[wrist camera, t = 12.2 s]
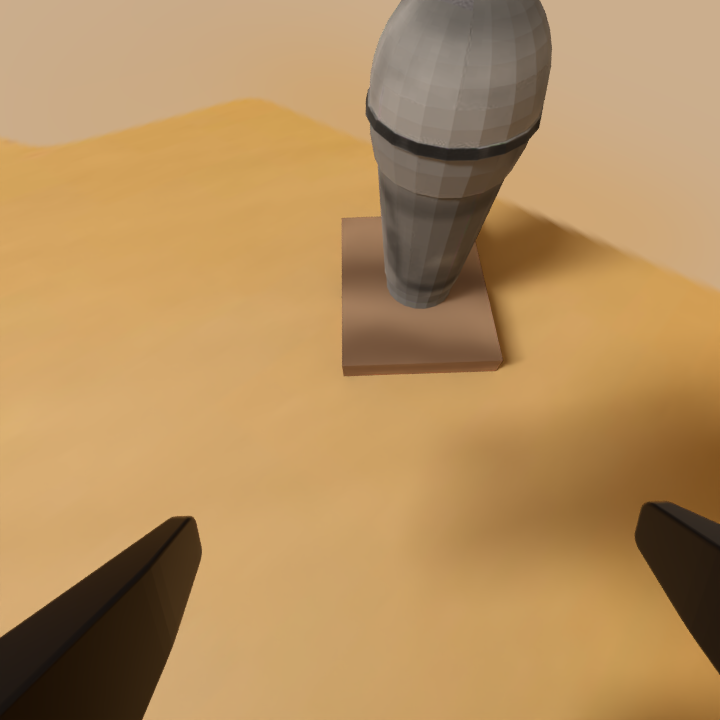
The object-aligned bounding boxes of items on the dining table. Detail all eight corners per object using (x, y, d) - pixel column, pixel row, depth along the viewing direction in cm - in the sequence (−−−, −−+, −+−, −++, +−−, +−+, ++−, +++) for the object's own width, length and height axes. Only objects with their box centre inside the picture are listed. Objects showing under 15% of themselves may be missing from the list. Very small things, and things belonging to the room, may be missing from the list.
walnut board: (495, 370, 24) (503, 360, 22) (343, 376, 24) (342, 366, 22) (464, 228, 29) (468, 213, 28) (343, 232, 30) (341, 218, 28)
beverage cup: (394, 231, 27) (439, -345, 10) (486, 264, 26) (747, -360, 8) (348, 300, 25) (291, -335, 7) (447, 343, 23) (722, -356, 5)
